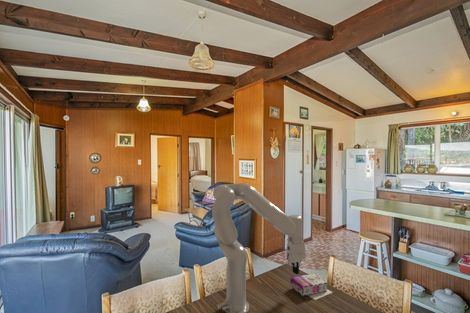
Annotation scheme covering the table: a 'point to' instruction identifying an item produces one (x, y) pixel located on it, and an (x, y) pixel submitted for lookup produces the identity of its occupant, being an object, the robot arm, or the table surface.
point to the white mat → (319, 295)
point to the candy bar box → (308, 284)
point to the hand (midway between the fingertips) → (295, 272)
